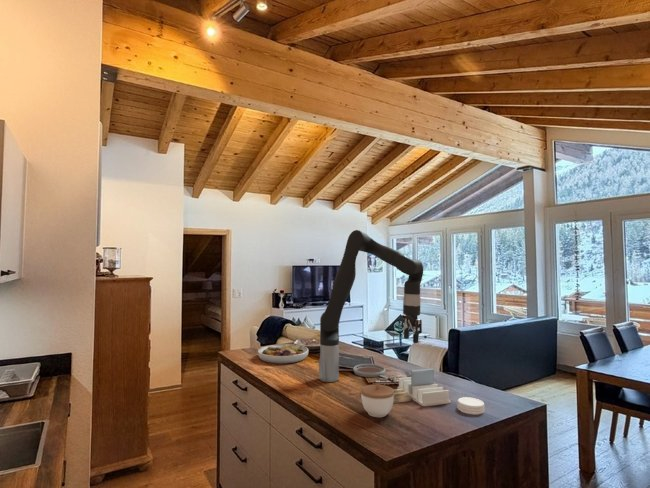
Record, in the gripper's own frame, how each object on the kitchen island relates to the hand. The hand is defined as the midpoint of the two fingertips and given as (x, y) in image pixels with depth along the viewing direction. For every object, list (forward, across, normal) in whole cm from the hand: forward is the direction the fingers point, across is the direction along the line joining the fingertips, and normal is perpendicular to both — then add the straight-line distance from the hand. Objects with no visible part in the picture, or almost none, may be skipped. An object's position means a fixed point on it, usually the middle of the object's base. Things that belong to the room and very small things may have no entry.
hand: (410, 340), depth 172 cm
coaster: (+23, +23, +14) cm, 36 cm away
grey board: (+22, +4, +4) cm, 23 cm away
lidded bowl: (+24, +17, -23) cm, 37 cm away
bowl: (+26, -74, -44) cm, 90 cm away
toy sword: (+24, -28, -4) cm, 37 cm away
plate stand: (+23, +5, -10) cm, 26 cm away
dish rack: (+23, +4, +4) cm, 24 cm away
